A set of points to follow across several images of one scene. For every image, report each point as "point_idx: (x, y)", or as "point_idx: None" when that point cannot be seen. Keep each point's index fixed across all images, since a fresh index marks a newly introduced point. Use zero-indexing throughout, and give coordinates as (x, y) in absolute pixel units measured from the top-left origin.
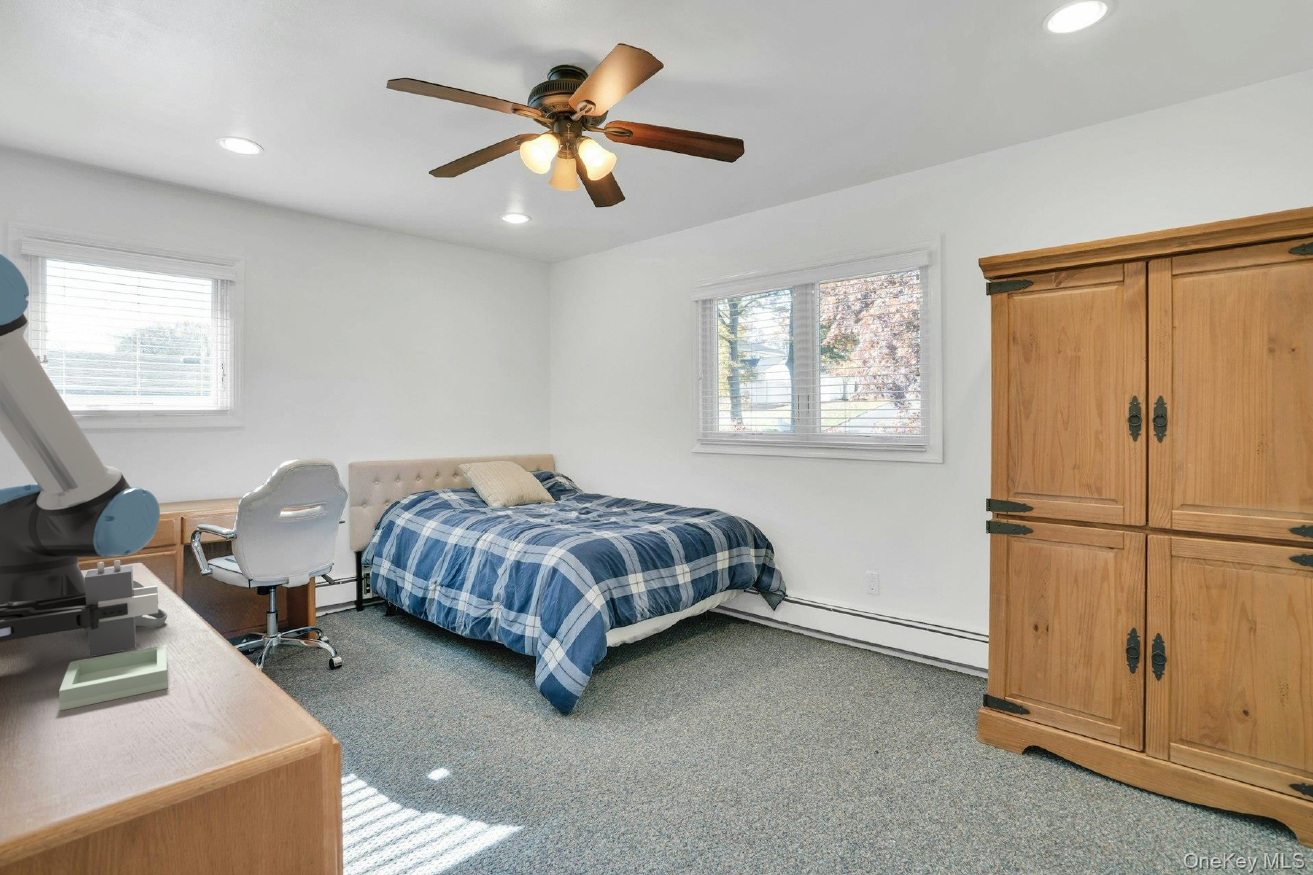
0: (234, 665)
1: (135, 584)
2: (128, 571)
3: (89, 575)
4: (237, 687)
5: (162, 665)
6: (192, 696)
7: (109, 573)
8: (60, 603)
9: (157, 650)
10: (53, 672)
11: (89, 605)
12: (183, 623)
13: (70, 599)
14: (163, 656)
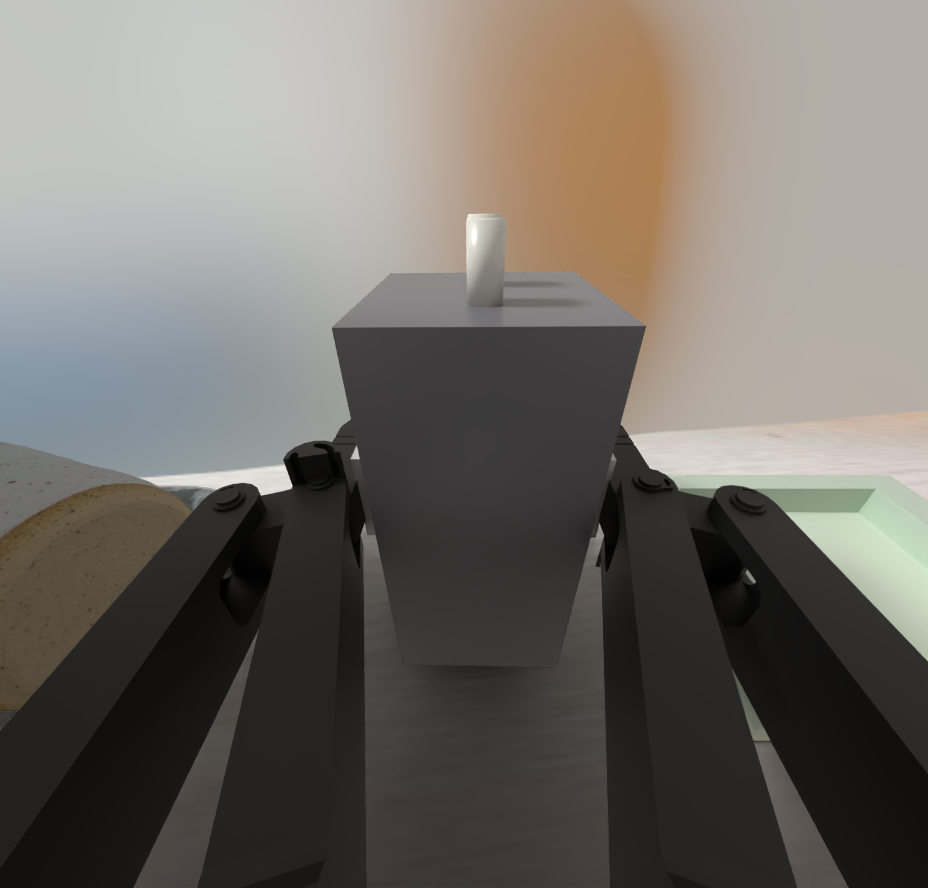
0: (710, 435)
1: (9, 445)
2: (563, 274)
3: (573, 318)
4: (854, 438)
5: (849, 480)
6: (917, 481)
7: (568, 291)
8: (342, 652)
9: (692, 487)
10: (594, 839)
11: (663, 485)
12: (266, 481)
13: (336, 581)
14: (758, 479)
